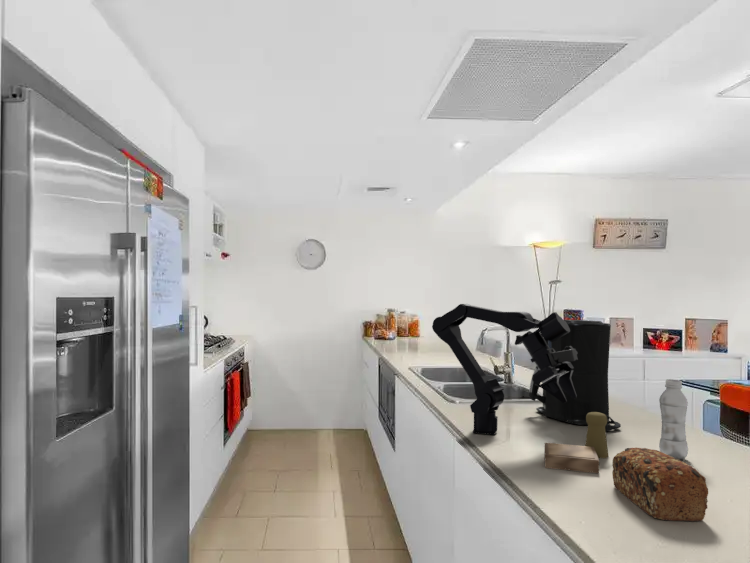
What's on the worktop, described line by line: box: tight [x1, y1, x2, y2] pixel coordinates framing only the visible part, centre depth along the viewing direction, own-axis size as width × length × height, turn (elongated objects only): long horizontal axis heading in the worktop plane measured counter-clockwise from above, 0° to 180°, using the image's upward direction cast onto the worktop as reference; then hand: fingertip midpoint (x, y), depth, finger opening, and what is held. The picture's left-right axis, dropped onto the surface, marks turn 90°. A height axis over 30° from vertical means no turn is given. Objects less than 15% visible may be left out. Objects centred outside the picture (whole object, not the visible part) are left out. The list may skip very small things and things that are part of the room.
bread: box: [612, 447, 709, 522], centre depth 109 cm, size 19×11×10 cm, turn 179°
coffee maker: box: [528, 319, 622, 433], centre depth 185 cm, size 23×32×34 cm
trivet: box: [543, 442, 600, 474], centre depth 135 cm, size 12×12×3 cm
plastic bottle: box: [658, 378, 689, 460], centre depth 141 cm, size 6×7×20 cm
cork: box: [584, 412, 610, 459], centre depth 142 cm, size 6×6×11 cm
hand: (570, 400), depth 150 cm, fingers open, 9 cm apart
